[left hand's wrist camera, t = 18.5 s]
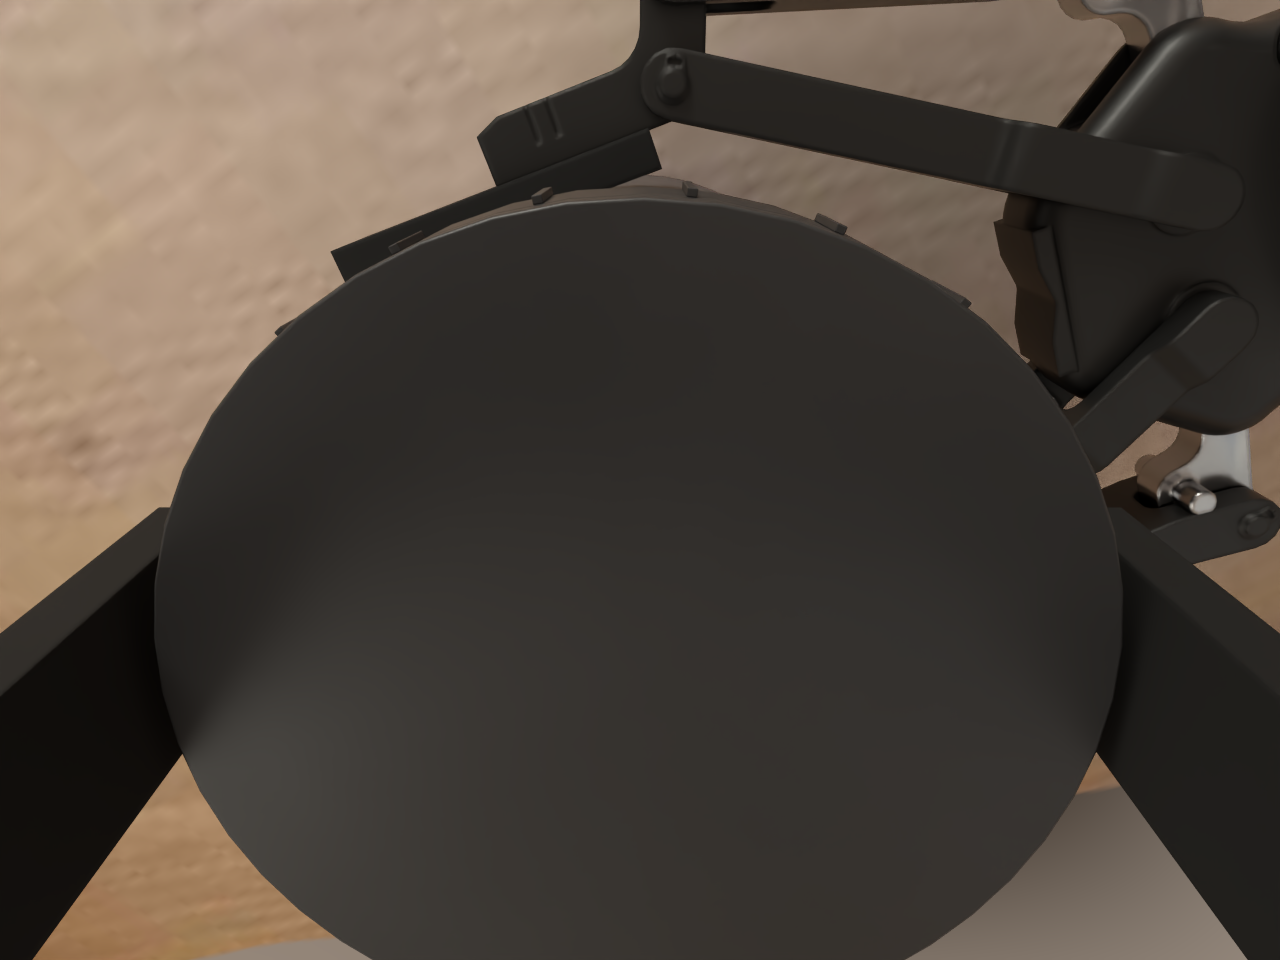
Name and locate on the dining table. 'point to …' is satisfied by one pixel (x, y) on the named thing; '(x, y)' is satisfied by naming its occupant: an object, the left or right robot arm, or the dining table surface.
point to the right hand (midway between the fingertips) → (467, 490)
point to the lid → (638, 594)
